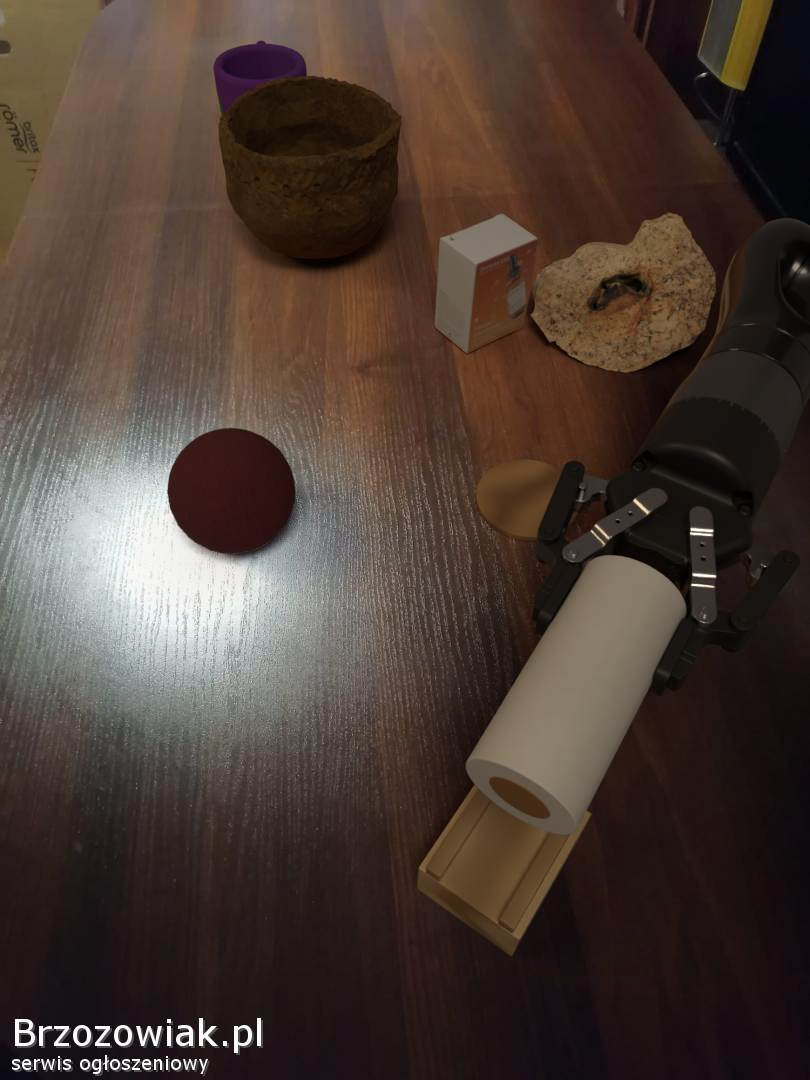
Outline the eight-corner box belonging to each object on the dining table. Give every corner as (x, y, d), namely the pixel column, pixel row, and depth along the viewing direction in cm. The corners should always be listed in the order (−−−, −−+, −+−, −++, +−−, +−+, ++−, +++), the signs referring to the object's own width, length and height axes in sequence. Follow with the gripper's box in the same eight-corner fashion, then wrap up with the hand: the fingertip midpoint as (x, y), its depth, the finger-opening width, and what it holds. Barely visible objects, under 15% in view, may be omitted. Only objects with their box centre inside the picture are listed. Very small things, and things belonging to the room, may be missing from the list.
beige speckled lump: (590, 423, 90) (591, 392, 83) (517, 322, 95) (512, 285, 88) (738, 332, 90) (752, 293, 82) (657, 235, 94) (664, 190, 87)
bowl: (400, 295, 93) (402, 162, 81) (226, 293, 93) (203, 159, 81) (399, 201, 105) (401, 73, 93) (245, 199, 104) (227, 70, 93)
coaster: (596, 492, 76) (598, 487, 75) (547, 558, 71) (548, 553, 71) (508, 449, 79) (509, 444, 78) (455, 510, 74) (456, 505, 74)
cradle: (580, 836, 57) (595, 807, 53) (511, 956, 52) (521, 935, 48) (490, 777, 59) (497, 746, 55) (416, 888, 55) (418, 862, 51)
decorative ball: (304, 487, 76) (295, 402, 68) (295, 579, 69) (284, 497, 62) (190, 485, 75) (167, 400, 68) (171, 578, 69) (143, 496, 61)
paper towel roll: (674, 642, 47) (698, 586, 43) (568, 850, 41) (583, 810, 36) (578, 597, 49) (591, 538, 45) (463, 788, 43) (464, 743, 38)
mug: (312, 162, 110) (306, 81, 102) (222, 165, 109) (210, 83, 101) (309, 99, 121) (303, 21, 113) (227, 101, 120) (216, 23, 112)
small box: (466, 356, 87) (474, 265, 79) (432, 327, 90) (437, 237, 81) (526, 327, 90) (540, 237, 82) (491, 300, 93) (502, 210, 84)
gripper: (616, 355, 51) (476, 556, 43) (864, 446, 46) (758, 692, 38) (599, 440, 57) (473, 630, 49) (816, 528, 52) (716, 755, 44)
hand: (598, 656), depth 44 cm, fingers closed on paper towel roll, 5 cm apart
